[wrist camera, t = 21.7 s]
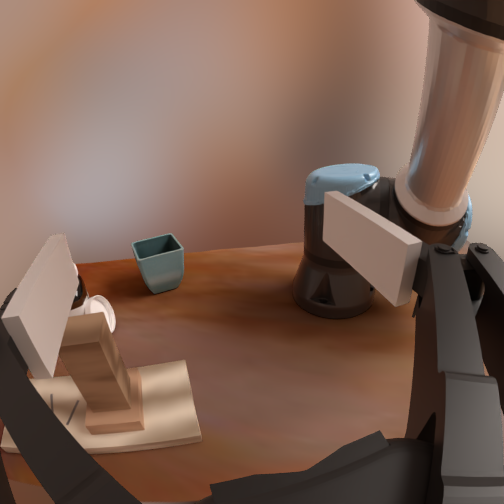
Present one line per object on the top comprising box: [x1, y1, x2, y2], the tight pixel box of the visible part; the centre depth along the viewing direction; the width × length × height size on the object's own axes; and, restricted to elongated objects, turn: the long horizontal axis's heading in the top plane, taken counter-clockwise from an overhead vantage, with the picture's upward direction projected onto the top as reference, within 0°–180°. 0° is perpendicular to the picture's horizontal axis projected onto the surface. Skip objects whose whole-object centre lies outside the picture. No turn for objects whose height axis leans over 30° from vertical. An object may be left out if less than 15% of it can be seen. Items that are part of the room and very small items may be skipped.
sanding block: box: [58, 312, 145, 435], centre depth 32 cm, size 9×7×13 cm
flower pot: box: [131, 233, 184, 294], centre depth 62 cm, size 9×9×9 cm
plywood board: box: [0, 360, 202, 454], centre depth 35 cm, size 13×28×2 cm, turn 106°
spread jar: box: [69, 263, 116, 333], centre depth 49 cm, size 12×11×12 cm
